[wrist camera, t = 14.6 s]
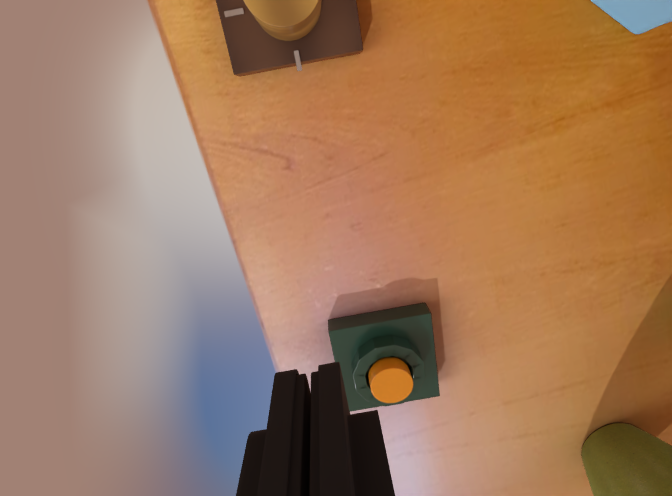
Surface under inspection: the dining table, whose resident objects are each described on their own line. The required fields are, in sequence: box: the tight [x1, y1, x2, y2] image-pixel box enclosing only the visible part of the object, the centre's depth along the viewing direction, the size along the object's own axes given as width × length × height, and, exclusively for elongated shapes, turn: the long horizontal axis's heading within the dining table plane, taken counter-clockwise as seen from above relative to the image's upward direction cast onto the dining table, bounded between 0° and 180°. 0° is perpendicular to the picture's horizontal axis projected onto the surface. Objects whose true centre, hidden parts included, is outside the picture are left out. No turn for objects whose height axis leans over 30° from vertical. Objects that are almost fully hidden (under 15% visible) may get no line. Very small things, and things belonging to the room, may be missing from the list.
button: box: [368, 357, 413, 403], centre depth 37 cm, size 4×4×2 cm
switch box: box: [328, 303, 440, 411], centre depth 39 cm, size 10×10×4 cm
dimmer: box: [216, 0, 363, 76], centre depth 29 cm, size 10×9×2 cm
